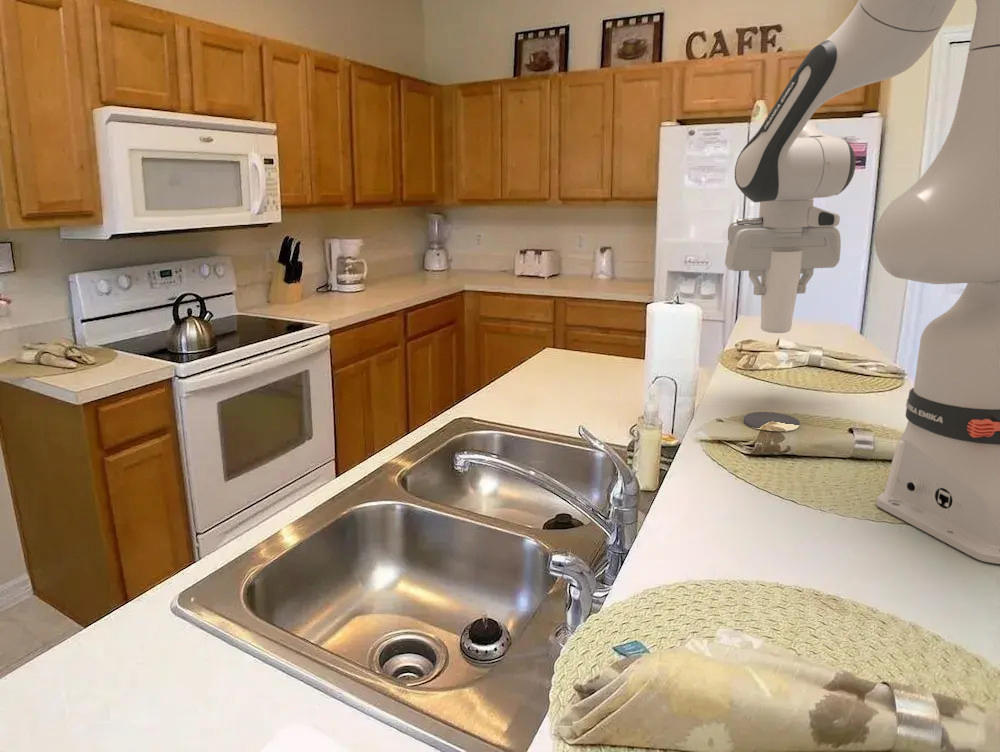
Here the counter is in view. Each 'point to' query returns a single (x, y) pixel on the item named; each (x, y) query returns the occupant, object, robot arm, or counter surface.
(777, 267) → the drinking glass
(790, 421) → the coaster
